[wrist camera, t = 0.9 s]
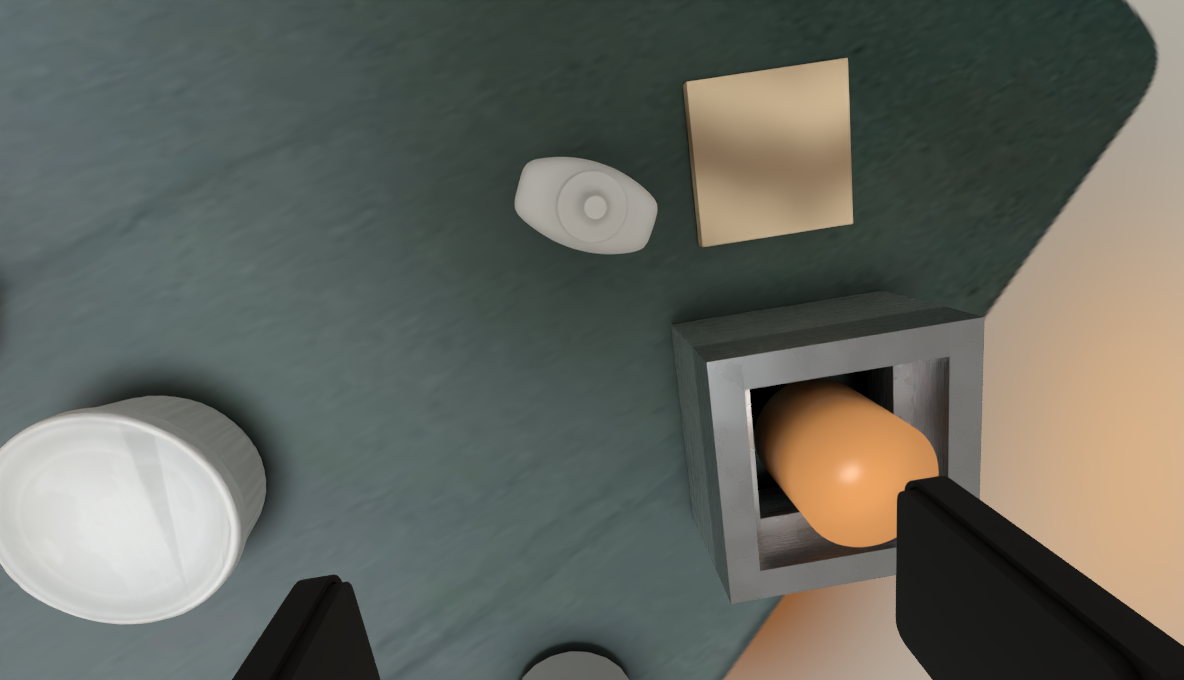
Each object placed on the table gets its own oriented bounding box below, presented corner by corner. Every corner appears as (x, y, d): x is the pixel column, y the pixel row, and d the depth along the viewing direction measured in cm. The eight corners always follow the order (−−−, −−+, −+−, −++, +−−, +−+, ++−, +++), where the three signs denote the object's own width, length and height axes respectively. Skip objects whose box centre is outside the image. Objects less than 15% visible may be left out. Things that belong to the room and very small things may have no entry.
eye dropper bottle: (570, 133, 28) (582, 82, 16) (646, 215, 29) (707, 223, 17) (509, 196, 28) (478, 190, 17) (586, 274, 30) (607, 320, 18)
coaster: (682, 85, 28) (686, 81, 27) (839, 61, 28) (847, 58, 27) (698, 246, 30) (702, 247, 29) (845, 223, 30) (852, 223, 29)
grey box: (670, 324, 30) (706, 362, 23) (886, 289, 31) (988, 316, 23) (692, 516, 33) (731, 603, 26) (889, 483, 34) (981, 559, 26)
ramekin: (330, 480, 31) (286, 533, 26) (194, 595, 33) (127, 668, 28) (170, 334, 29) (88, 362, 24) (29, 465, 30) (-78, 518, 25)
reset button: (749, 387, 28) (795, 430, 23) (865, 368, 28) (939, 406, 23) (758, 493, 29) (803, 557, 24) (868, 474, 29) (938, 534, 24)
